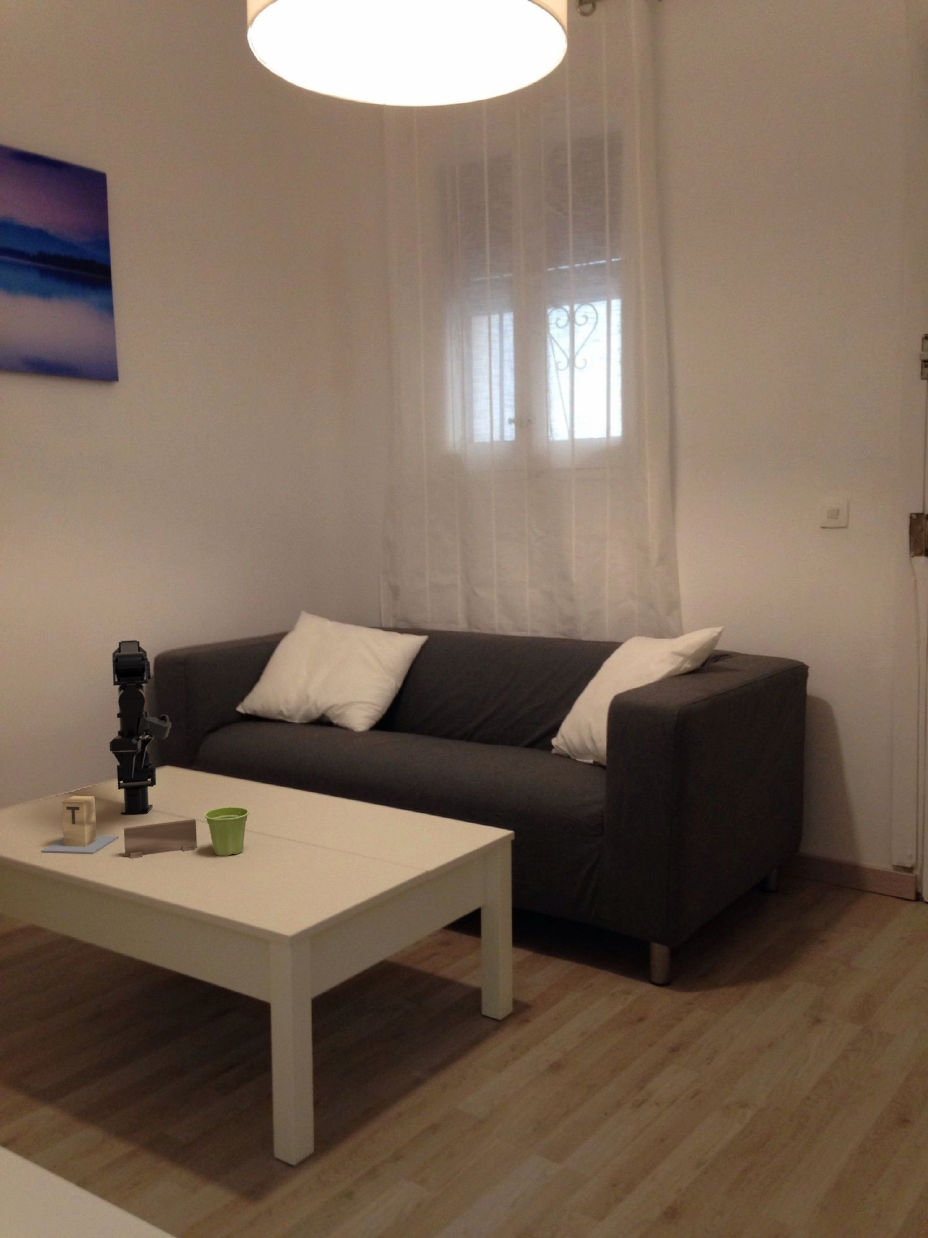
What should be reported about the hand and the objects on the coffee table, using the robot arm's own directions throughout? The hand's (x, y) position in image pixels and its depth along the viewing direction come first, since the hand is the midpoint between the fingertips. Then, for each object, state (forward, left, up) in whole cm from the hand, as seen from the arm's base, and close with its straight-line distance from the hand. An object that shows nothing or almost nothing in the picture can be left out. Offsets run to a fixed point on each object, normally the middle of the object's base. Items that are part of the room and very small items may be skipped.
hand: (135, 773), depth 258 cm
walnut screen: (+18, +9, -13) cm, 24 cm away
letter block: (+11, -10, -13) cm, 20 cm away
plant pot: (+20, +24, -13) cm, 34 cm away
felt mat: (+11, -10, -13) cm, 20 cm away
